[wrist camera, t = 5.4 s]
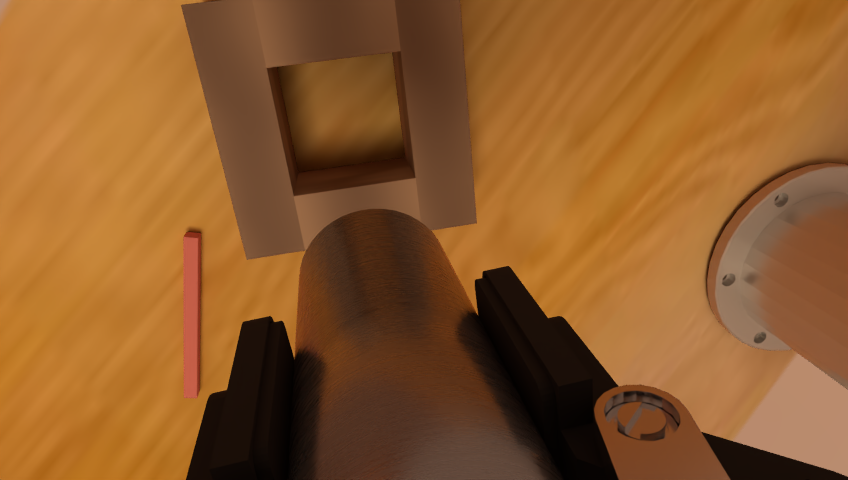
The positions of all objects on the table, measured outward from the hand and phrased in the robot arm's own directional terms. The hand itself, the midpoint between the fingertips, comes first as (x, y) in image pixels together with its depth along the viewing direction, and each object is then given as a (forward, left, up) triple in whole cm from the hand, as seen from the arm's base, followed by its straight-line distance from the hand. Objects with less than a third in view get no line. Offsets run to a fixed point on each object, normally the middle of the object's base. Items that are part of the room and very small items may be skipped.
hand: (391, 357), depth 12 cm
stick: (+10, +8, -19) cm, 23 cm away
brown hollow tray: (0, -2, -19) cm, 19 cm away
